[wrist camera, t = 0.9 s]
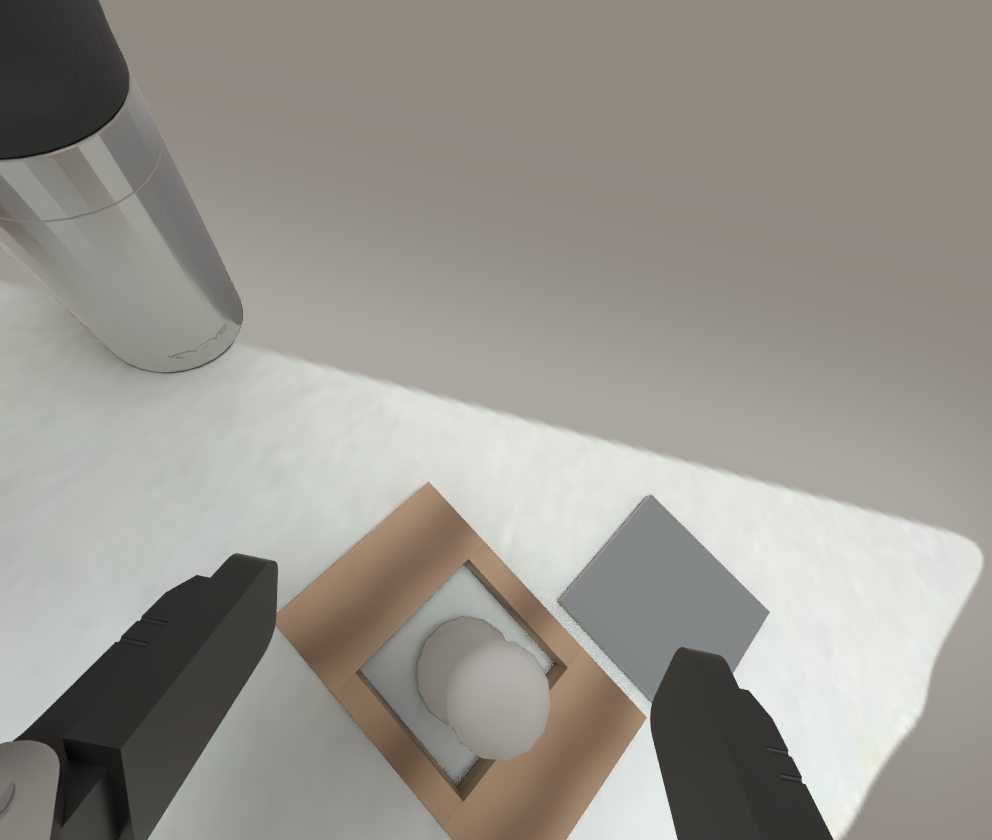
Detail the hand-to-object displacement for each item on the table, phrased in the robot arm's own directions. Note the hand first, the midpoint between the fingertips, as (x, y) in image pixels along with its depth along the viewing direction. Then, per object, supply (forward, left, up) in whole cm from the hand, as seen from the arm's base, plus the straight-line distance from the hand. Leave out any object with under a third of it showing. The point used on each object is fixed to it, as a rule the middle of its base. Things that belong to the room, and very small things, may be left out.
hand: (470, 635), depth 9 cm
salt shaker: (+4, 0, -24) cm, 24 cm away
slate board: (+12, +13, -23) cm, 30 cm away
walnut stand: (+4, 0, -23) cm, 24 cm away
